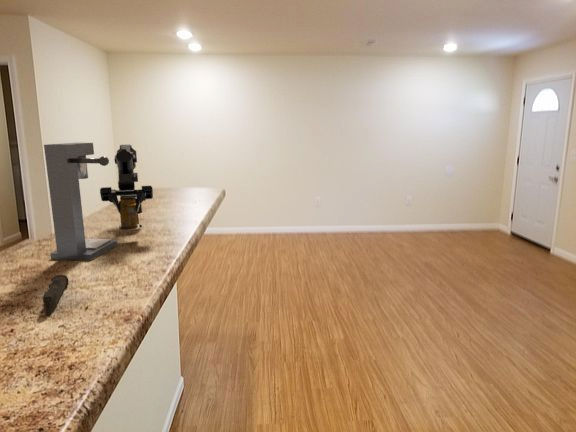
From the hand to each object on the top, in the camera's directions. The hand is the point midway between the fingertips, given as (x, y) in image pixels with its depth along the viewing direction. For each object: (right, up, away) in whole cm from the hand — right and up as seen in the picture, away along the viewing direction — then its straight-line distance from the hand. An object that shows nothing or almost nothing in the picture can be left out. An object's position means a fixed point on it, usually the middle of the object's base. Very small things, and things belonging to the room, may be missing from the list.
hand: (128, 211), depth 151 cm
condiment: (-1, -6, +3) cm, 7 cm away
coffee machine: (-7, -15, -10) cm, 19 cm away
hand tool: (+1, -24, -48) cm, 53 cm away
